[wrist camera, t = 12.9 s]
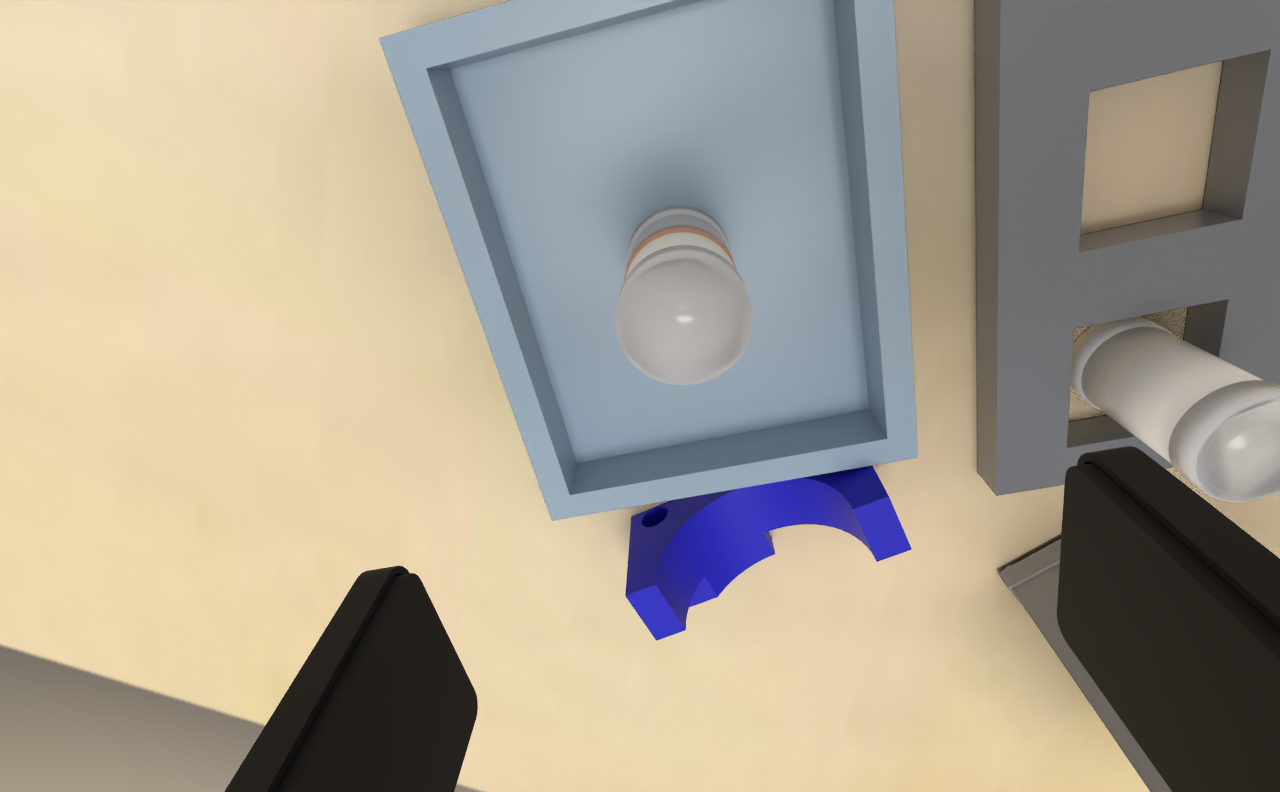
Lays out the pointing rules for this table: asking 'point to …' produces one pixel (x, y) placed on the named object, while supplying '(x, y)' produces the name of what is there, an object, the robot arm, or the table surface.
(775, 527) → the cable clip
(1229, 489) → the cylinder
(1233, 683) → the robot arm
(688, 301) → the marked fuse
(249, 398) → the table surface
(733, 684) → the table surface
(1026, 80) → the fuse holder
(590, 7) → the tray
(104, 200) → the table surface
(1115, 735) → the cassette tape recorder
